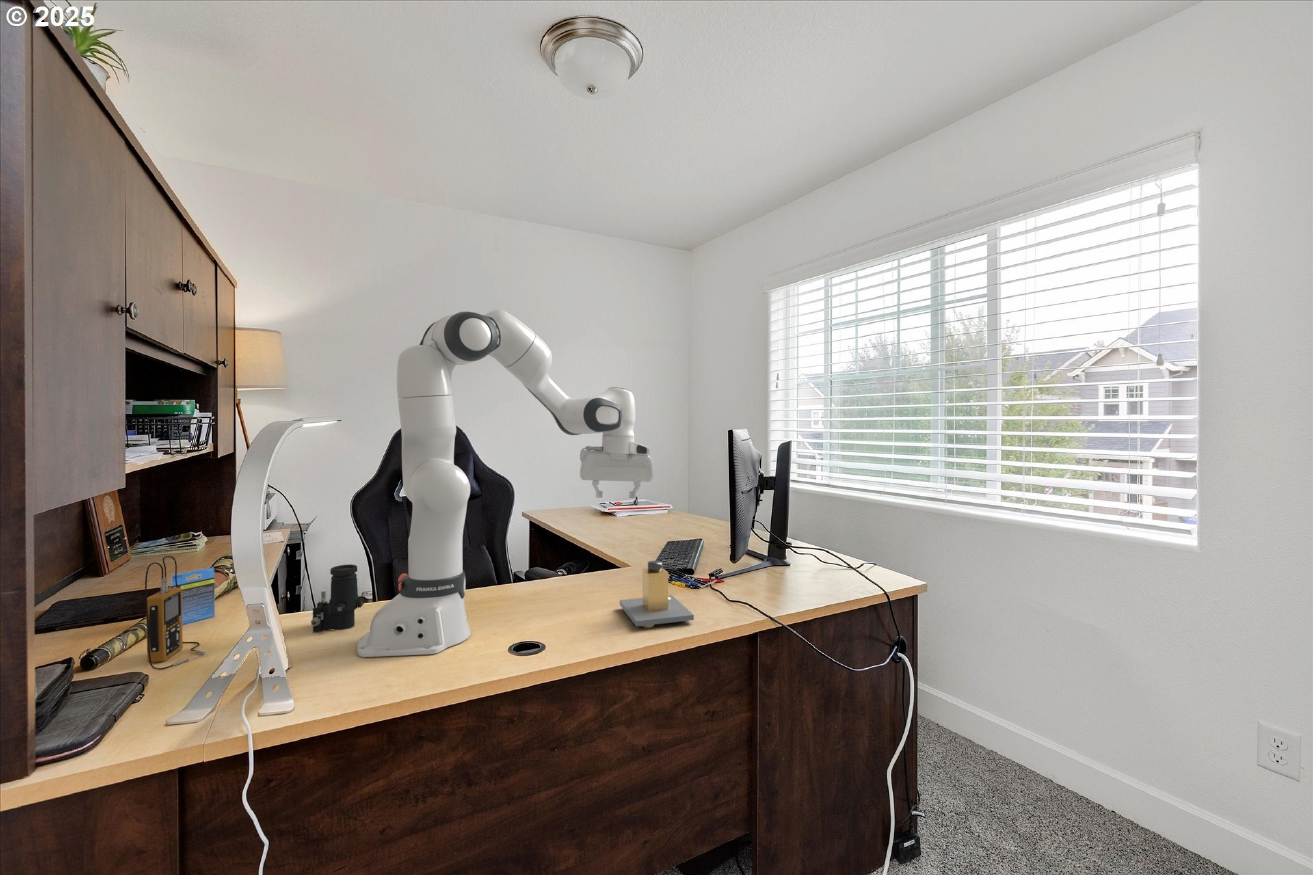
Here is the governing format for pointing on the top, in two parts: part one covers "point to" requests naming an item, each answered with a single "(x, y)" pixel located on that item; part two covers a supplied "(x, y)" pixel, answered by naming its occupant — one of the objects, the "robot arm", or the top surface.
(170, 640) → the multimeter
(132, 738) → the top surface
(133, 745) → the top surface
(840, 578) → the top surface
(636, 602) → the base
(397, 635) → the robot arm
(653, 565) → the block with dome knob
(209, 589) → the label tape box
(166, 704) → the top surface
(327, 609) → the scope
